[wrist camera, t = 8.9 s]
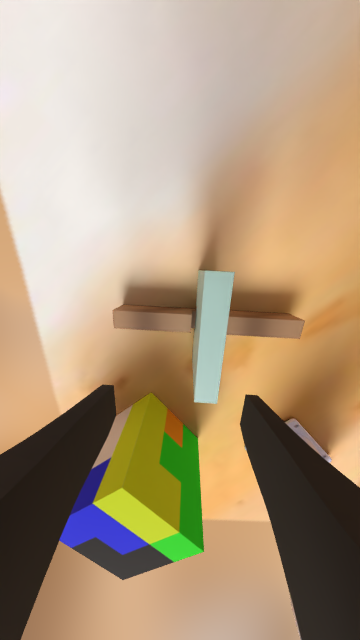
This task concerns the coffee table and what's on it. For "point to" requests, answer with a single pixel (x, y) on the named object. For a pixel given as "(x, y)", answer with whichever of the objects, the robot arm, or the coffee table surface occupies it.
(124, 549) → the puzzle toy
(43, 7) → the coffee table surface
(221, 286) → the teal plate
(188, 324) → the walnut rail
